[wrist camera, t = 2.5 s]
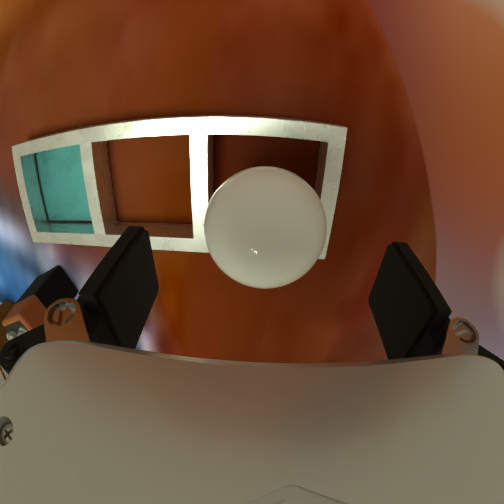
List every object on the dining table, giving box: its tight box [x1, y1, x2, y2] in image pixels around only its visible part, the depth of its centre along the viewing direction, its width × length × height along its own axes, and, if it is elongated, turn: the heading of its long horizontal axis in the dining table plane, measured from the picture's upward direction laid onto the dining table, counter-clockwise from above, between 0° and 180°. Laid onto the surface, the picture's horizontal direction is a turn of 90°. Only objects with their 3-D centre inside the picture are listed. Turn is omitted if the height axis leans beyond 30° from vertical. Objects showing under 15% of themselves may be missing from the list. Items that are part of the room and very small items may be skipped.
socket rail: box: [12, 115, 347, 259], centre depth 20 cm, size 10×29×2 cm, turn 88°
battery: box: [2, 266, 78, 340], centre depth 24 cm, size 4×7×10 cm, turn 113°
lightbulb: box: [204, 166, 327, 289], centre depth 16 cm, size 6×6×11 cm
